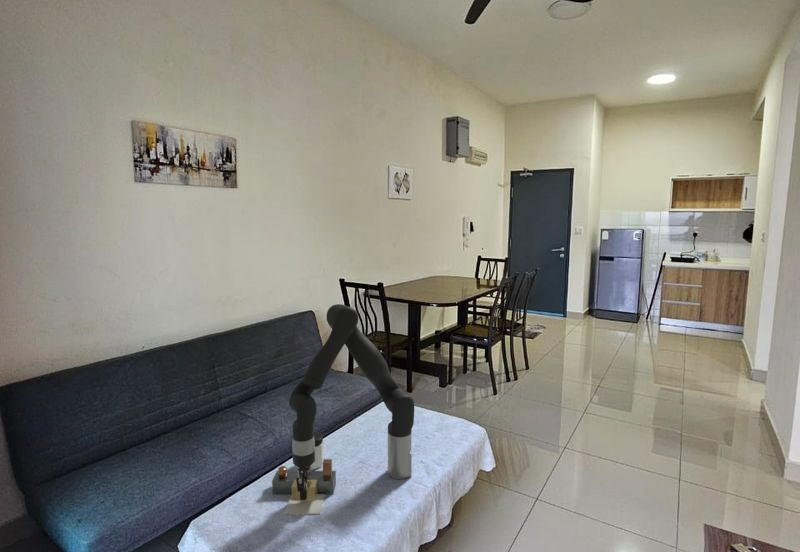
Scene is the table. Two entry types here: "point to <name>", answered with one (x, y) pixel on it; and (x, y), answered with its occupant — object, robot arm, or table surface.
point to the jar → (318, 451)
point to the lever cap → (310, 491)
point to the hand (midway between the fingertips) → (304, 494)
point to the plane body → (324, 479)
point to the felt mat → (305, 506)
